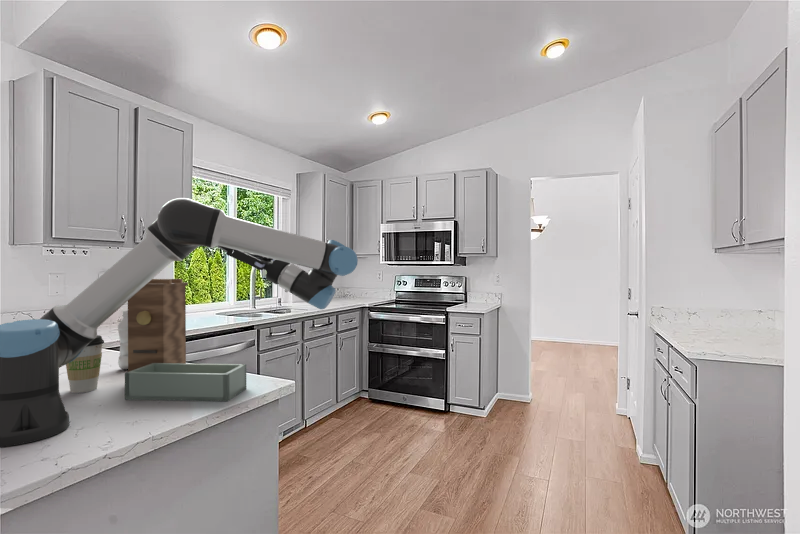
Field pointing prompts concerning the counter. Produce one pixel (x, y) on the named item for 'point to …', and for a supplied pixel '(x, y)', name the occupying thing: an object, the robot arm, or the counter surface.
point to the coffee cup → (86, 368)
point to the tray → (185, 382)
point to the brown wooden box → (157, 324)
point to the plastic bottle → (123, 341)
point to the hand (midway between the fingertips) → (222, 238)
